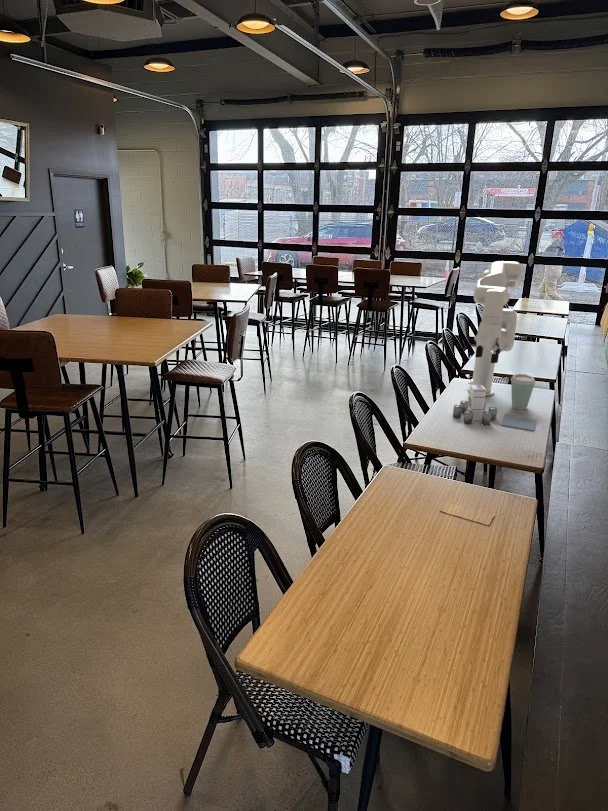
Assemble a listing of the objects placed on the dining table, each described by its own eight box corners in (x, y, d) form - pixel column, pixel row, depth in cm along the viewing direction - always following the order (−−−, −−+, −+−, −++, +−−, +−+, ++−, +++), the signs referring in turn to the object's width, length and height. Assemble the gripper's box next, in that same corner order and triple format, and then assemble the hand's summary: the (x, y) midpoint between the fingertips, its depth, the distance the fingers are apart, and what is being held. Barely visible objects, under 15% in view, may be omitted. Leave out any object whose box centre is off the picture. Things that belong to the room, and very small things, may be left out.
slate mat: (501, 425, 231) (501, 424, 231) (504, 416, 242) (504, 414, 242) (533, 431, 226) (533, 430, 226) (535, 421, 237) (535, 419, 237)
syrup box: (482, 420, 237) (487, 388, 232) (469, 420, 237) (473, 388, 232) (479, 415, 242) (483, 384, 237) (465, 415, 242) (469, 384, 237)
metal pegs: (445, 413, 244) (446, 402, 243) (475, 408, 251) (476, 398, 249) (472, 427, 228) (474, 416, 227) (503, 422, 235) (505, 412, 233)
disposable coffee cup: (534, 411, 249) (539, 380, 243) (510, 411, 249) (515, 379, 244) (525, 403, 259) (531, 373, 253) (503, 403, 259) (507, 373, 254)
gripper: (470, 316, 230) (465, 355, 236) (499, 324, 215) (493, 365, 221) (485, 315, 233) (479, 354, 239) (514, 323, 218) (507, 364, 224)
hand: (486, 359), depth 230 cm, fingers open, 9 cm apart
